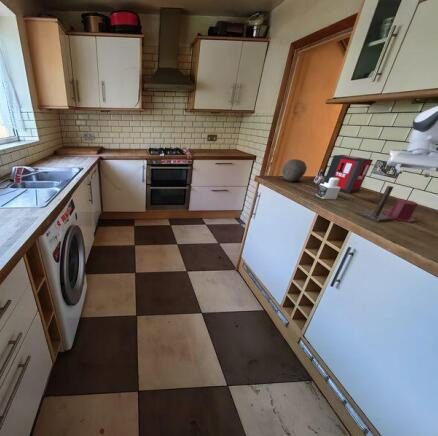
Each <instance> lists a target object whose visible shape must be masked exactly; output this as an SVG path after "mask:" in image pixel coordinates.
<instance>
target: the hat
mask: <svg viewBox="0 0 438 436" xmlns="http://www.w3.org/2000/svg"><path fill="white" fill-rule="evenodd" d="M417 207H418V203H417V202H416V201H413V200H409V199H402V198H401V199H399V198H398V199H397V200H396V201H395V203H394V205H393V207H392V209H391V210H390V211H384V212H383V213H382V214H384V215H386V216H389V217H392V218H394V220H396V221H398V222H399V221H400V222H404V223H415V222H416V221H417V220H416V219H415V218H414V217H412V215H413V214H414V212H415V211H416V209H417Z"/></svg>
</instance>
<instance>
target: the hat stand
mask: <svg viewBox="0 0 438 436" xmlns="http://www.w3.org/2000/svg"><path fill="white" fill-rule="evenodd" d="M393 190H394V186H392V185H387V186H386V188H385V189H384V192H383V194H382V196H381V198H380V200H379V201H378V203H377V206H376V207H375V210H364V211H362V210H361V211H358V212H357V215H359V216H362V217H365V218H367V219H370V220H372V221H374V222H376V223H377V222H378V223H382V222H393V221H394V220H395V219H394V218H392V217H389V216H386V215H384V214H383V213H382V211H383V208H384V207H385V204H386V203H387V202H388V199H389V197H390V195H391V193H392V192H393Z"/></svg>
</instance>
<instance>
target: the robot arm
mask: <svg viewBox="0 0 438 436" xmlns="http://www.w3.org/2000/svg"><path fill="white" fill-rule="evenodd" d="M408 142H409V143H408V144H407V147H406V149H397V148H395V149H392V150H390V151H389V152H388V158H387V161H386V165H387V166H389V167H394V168H395V170H396V174H399V175H402V173H403V172H404V168H405V169H415V170H423V171H427V172H425V173H424V177H423V178H430V177H431V176H432V174H433V173H434V172H438V145H436V144H438V104H437V105H434V106H432V107H429V108H428V109H427V108H426V109H425V110H423V111H421V112H420V113H418V114H417V115H416V116H415V117H414V118H413V120H412V132H411V134H410V136H409V140H408Z"/></svg>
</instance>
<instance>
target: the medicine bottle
mask: <svg viewBox="0 0 438 436" xmlns="http://www.w3.org/2000/svg"><path fill="white" fill-rule="evenodd" d="M325 178H326V179H325ZM325 178H324V180H325V182H324V181H323V183H325V184H323V183H318V187H317V190H316V193H315V196H316V197H319V198H321V199H322V200H337V198H338V194H339V193H340V187H338V186H336V185H337V184H338V182H339V178H337V177H333V176H328V177H326V176H325Z"/></svg>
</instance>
